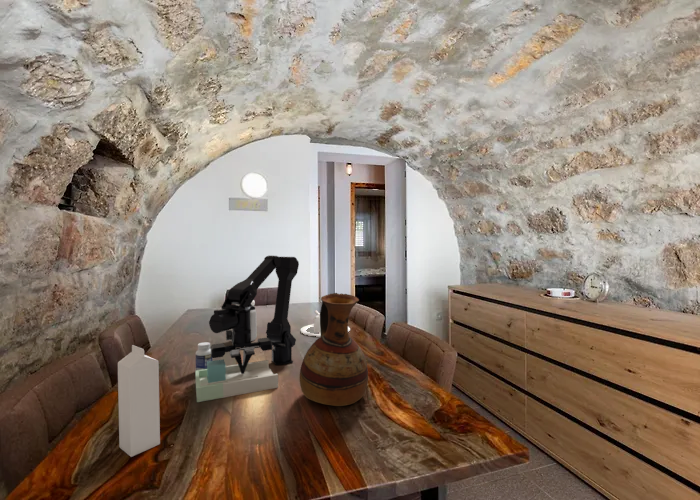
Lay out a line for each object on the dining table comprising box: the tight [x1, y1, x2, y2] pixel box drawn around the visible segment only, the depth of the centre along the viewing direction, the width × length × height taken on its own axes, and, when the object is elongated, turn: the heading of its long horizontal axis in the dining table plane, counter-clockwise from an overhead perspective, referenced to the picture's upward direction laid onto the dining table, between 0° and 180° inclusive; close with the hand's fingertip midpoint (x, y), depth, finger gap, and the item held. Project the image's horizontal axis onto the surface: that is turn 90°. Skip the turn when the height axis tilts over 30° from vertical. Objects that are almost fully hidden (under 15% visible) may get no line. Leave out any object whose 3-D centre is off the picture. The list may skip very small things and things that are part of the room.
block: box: [207, 358, 226, 383], centre depth 110 cm, size 5×5×5 cm
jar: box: [250, 299, 257, 342], centre depth 161 cm, size 10×10×18 cm
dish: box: [300, 309, 351, 338], centre depth 177 cm, size 25×25×11 cm
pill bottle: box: [195, 341, 213, 371], centre depth 122 cm, size 5×5×10 cm
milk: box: [117, 344, 161, 458], centre depth 77 cm, size 6×6×22 cm
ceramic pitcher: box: [299, 292, 369, 407], centre depth 101 cm, size 20×20×30 cm
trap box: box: [194, 359, 279, 403], centre depth 110 cm, size 23×15×4 cm, turn 115°
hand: (242, 373), depth 114 cm, fingers closed
